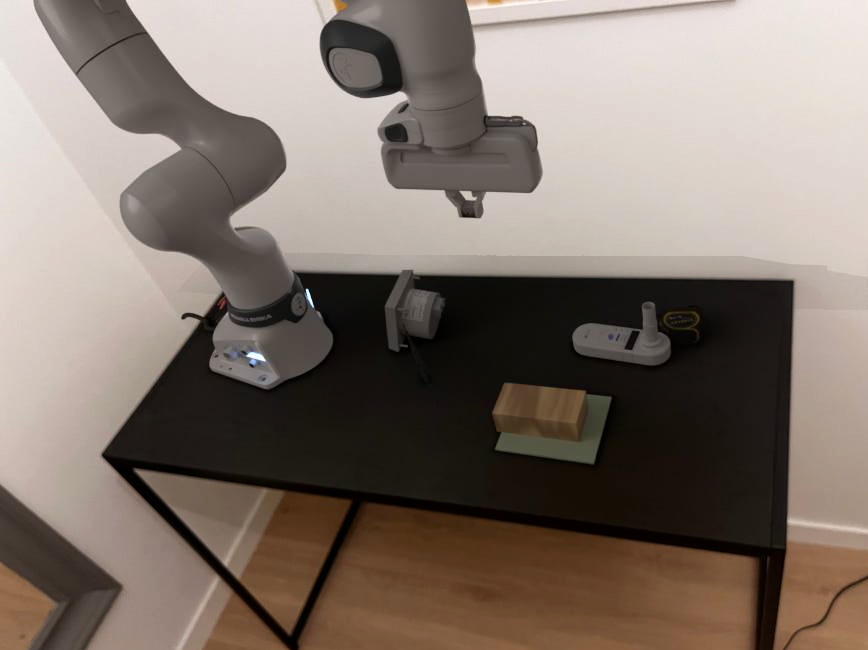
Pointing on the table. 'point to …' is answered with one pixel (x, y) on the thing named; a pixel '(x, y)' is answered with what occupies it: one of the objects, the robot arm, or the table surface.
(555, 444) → the mat
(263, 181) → the robot arm
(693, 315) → the tape measure
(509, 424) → the block
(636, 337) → the electronic device
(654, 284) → the table surface
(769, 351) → the table surface
